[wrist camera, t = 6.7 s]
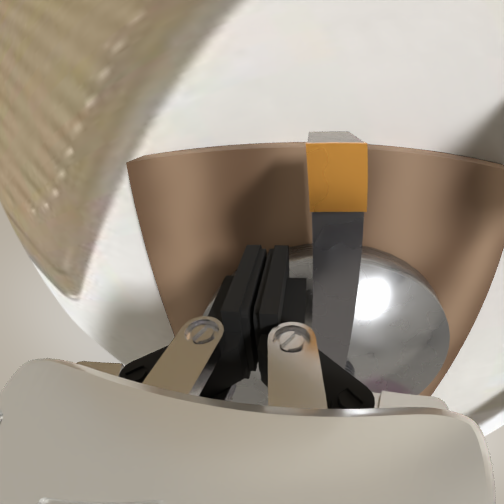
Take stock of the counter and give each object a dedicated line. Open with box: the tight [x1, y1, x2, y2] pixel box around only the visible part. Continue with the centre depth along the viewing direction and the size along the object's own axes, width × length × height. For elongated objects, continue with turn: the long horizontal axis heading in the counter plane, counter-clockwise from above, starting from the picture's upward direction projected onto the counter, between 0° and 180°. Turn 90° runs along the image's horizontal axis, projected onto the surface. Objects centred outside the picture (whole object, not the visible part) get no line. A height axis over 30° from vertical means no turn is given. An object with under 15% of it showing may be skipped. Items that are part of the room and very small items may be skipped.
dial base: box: [126, 142, 504, 402], centre depth 20 cm, size 24×28×2 cm
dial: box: [203, 132, 450, 406], centre depth 15 cm, size 24×18×6 cm
